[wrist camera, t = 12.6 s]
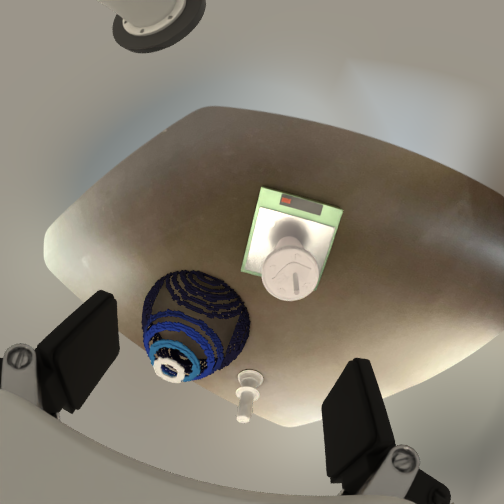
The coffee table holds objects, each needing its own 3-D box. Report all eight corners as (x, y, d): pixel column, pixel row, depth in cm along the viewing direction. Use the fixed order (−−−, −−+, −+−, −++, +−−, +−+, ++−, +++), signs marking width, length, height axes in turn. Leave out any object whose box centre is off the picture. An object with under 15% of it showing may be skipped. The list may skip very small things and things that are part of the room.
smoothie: (317, 261, 39) (332, 311, 25) (275, 275, 40) (270, 329, 27) (302, 220, 37) (313, 252, 24) (259, 235, 38) (246, 275, 25)
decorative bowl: (230, 373, 52) (215, 427, 39) (142, 336, 52) (109, 380, 38) (266, 297, 46) (259, 351, 32) (158, 254, 45) (115, 289, 32)
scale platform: (260, 205, 38) (259, 206, 37) (334, 226, 37) (335, 227, 37) (244, 267, 41) (244, 269, 40) (314, 285, 41) (315, 287, 40)
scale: (262, 185, 40) (260, 187, 36) (339, 206, 39) (343, 210, 36) (243, 264, 44) (240, 272, 41) (314, 282, 44) (316, 292, 40)
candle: (233, 379, 53) (222, 422, 41) (246, 365, 51) (237, 410, 40) (253, 389, 53) (247, 433, 42) (268, 377, 51) (263, 421, 40)
